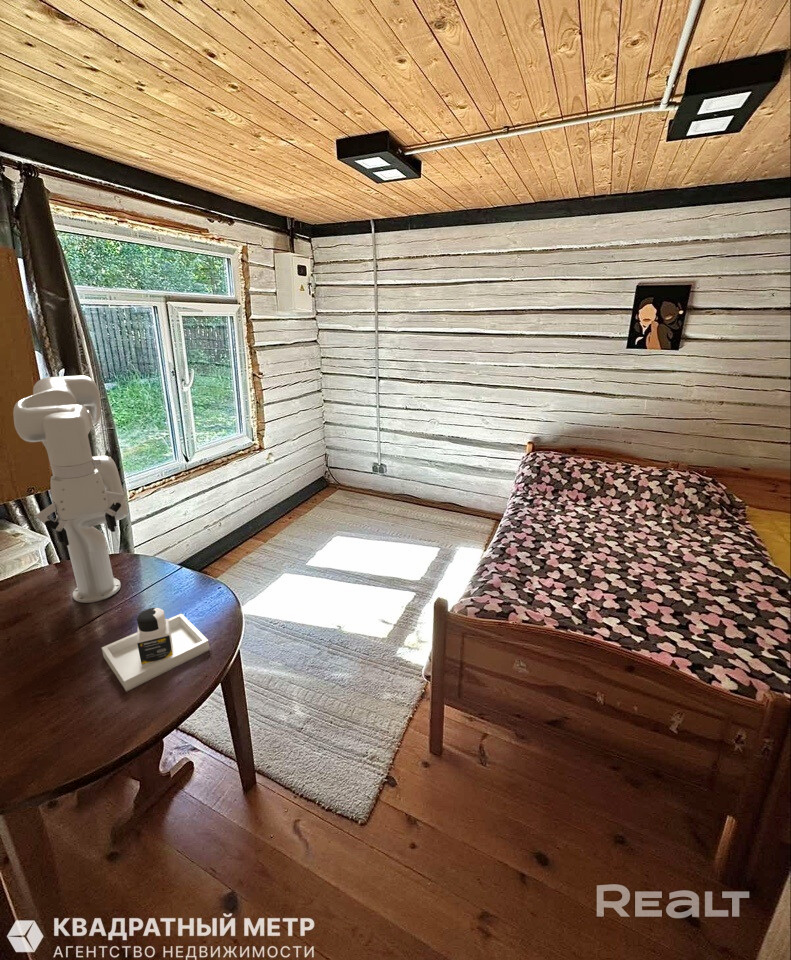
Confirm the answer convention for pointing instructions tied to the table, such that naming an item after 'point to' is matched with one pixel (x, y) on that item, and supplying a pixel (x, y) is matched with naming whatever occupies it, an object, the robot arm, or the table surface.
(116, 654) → the tray
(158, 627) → the medicine bottle
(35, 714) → the table surface
